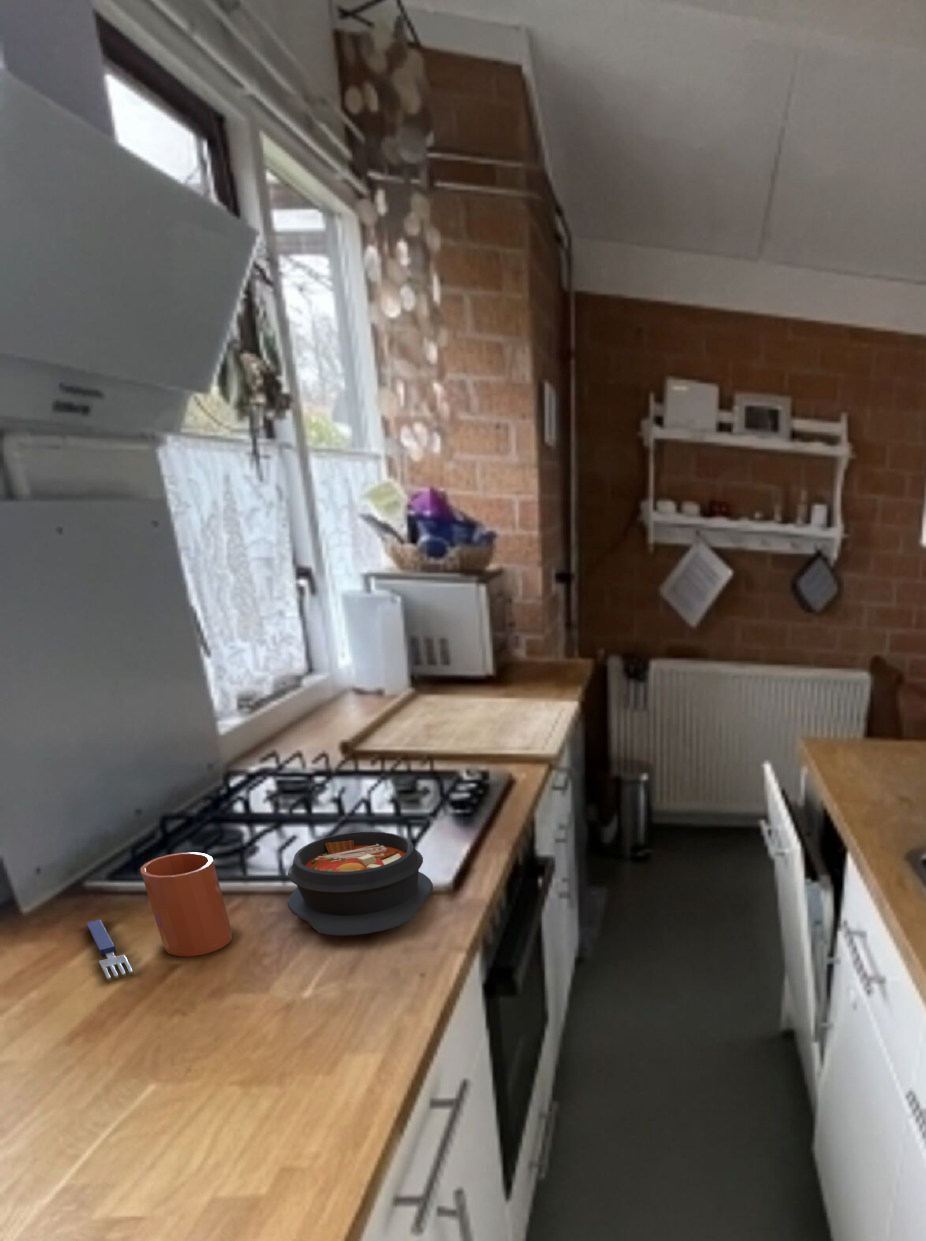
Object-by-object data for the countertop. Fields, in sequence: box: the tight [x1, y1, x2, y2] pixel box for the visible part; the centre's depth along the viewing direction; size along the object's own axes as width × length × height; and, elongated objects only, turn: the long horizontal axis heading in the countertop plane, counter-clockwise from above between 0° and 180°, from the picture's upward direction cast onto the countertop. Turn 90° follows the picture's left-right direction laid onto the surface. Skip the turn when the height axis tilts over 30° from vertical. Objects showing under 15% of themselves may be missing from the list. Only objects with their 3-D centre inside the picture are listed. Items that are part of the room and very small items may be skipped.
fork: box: [86, 919, 135, 982], centre depth 108 cm, size 16×3×1 cm, turn 44°
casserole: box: [286, 831, 434, 936], centre depth 121 cm, size 25×19×8 cm
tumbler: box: [140, 851, 234, 957], centre depth 109 cm, size 7×7×11 cm
